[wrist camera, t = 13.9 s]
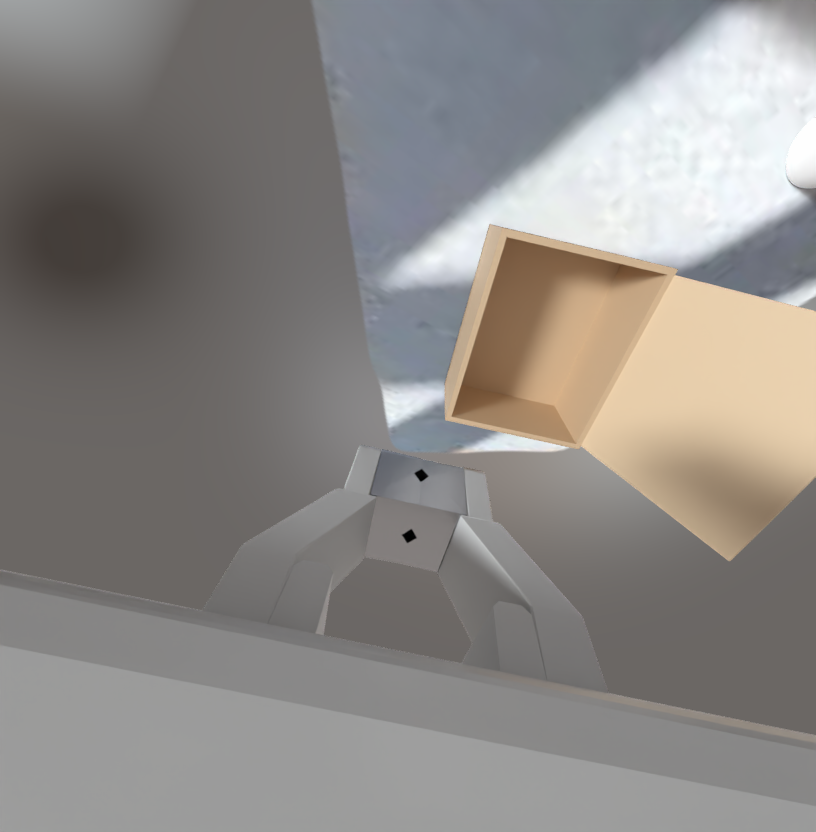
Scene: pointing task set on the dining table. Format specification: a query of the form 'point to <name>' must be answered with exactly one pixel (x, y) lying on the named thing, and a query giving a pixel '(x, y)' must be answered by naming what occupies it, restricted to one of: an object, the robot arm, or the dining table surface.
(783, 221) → the dining table surface
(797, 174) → the can
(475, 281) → the carton
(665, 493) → the carton flap
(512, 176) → the dining table surface
